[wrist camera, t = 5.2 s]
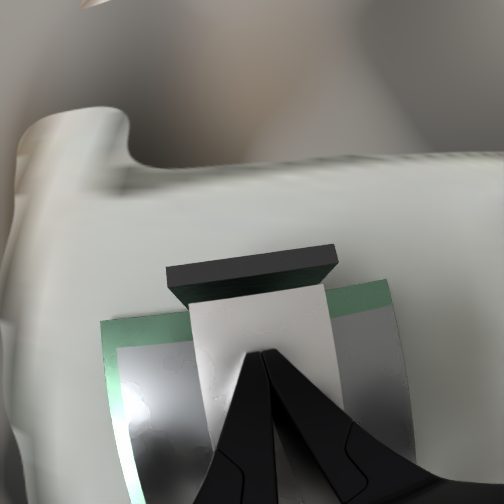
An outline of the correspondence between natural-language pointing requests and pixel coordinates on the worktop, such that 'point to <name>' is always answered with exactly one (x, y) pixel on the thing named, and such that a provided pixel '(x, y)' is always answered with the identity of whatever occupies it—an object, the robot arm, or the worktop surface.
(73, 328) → the worktop surface
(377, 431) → the green grey square block
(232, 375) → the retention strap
